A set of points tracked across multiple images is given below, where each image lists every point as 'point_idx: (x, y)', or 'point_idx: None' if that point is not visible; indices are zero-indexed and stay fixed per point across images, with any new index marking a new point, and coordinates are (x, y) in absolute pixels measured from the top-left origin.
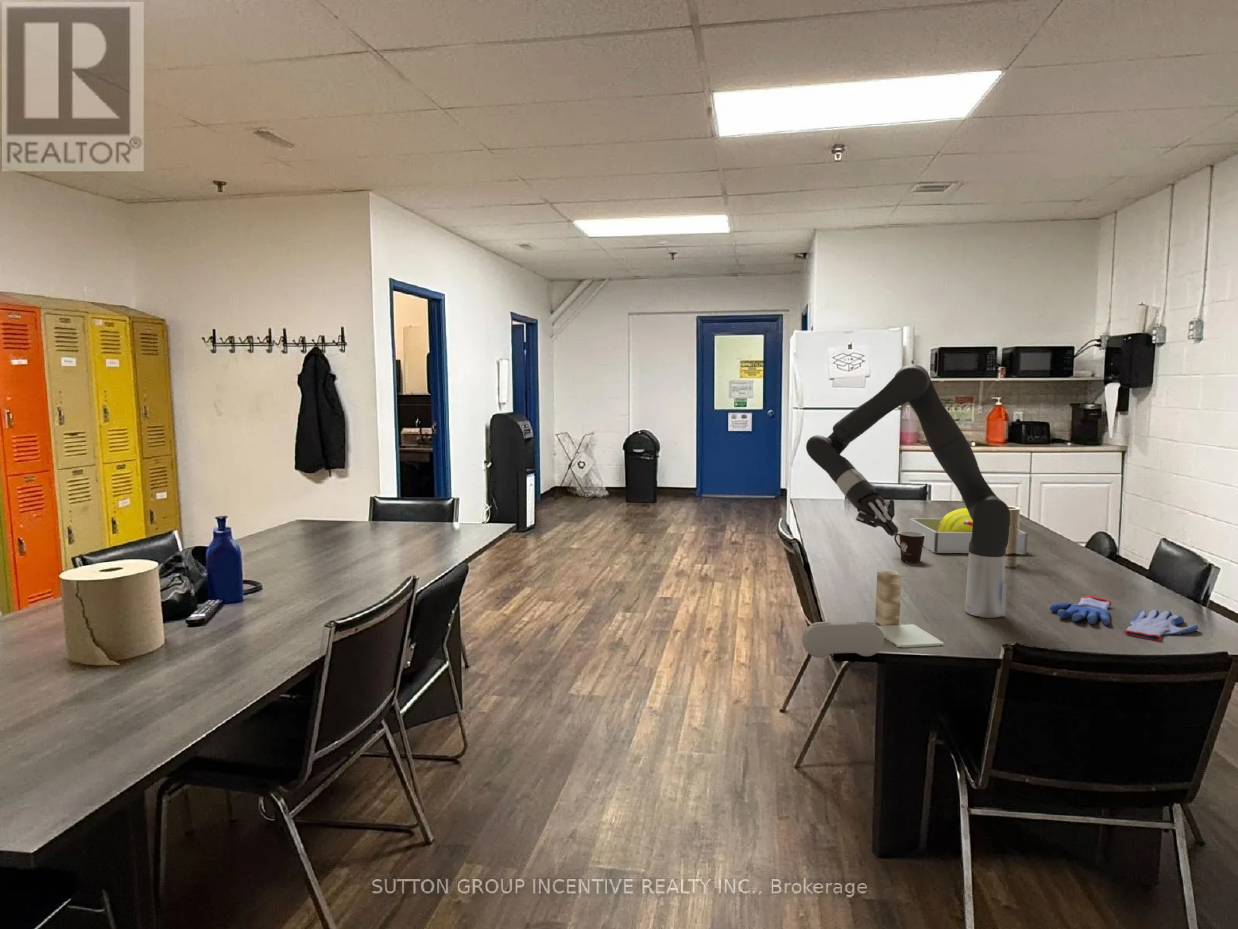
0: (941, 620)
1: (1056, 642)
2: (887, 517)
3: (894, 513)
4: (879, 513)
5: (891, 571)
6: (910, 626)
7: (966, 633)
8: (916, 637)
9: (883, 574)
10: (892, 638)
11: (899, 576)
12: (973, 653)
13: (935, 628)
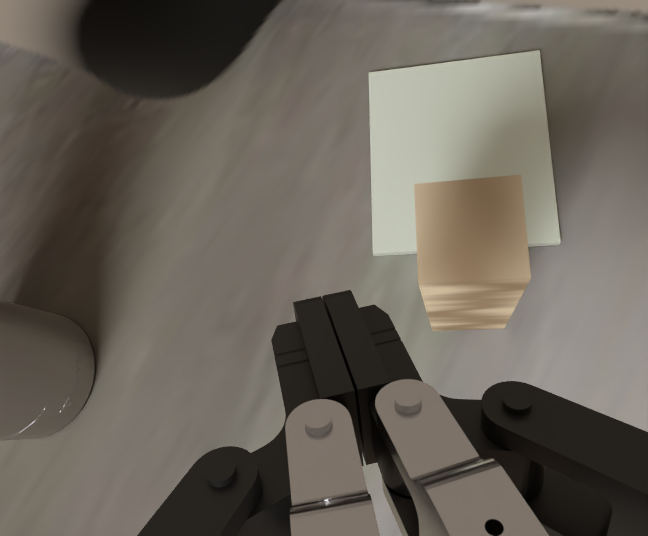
0: (232, 314)
1: (36, 101)
2: (331, 438)
3: (175, 488)
4: (458, 481)
5: (437, 264)
6: (398, 231)
7: (231, 179)
8: (435, 121)
9: (523, 198)
10: (531, 112)
11: (427, 185)
12: (317, 19)
13: (304, 232)
